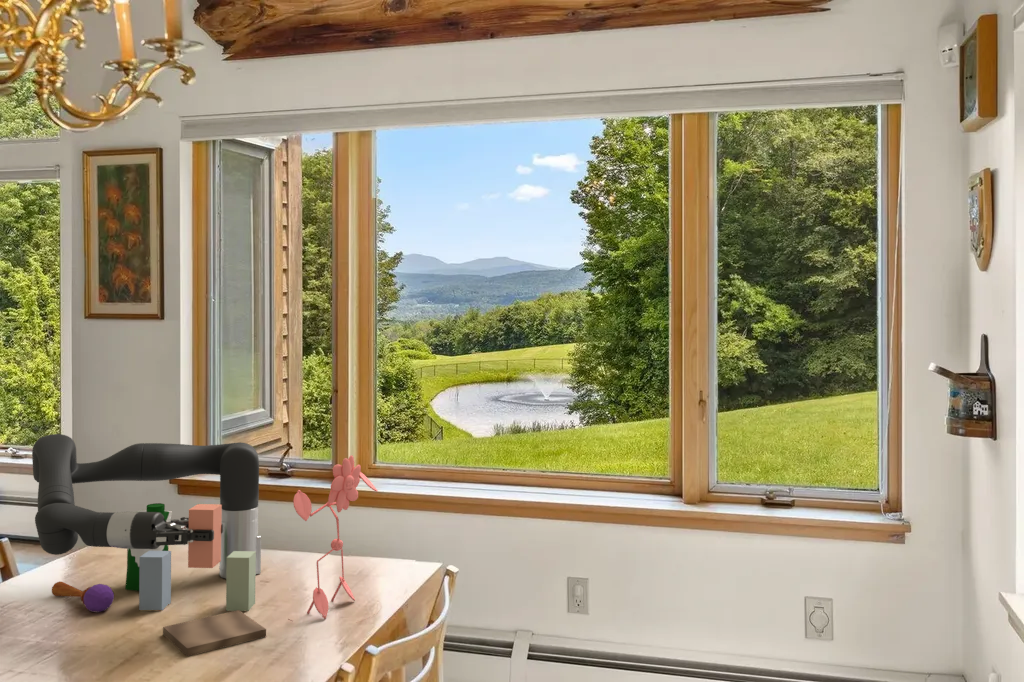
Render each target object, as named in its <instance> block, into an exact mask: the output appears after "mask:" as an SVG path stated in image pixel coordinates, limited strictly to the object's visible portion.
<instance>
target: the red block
mask: <svg viewBox="0 0 1024 682" xmlns="http://www.w3.org/2000/svg"><path fill="white" fill-rule="evenodd" d="M188 518H189V529H194V531H195V530H196V529H201V530H213V531H214V539H213V540H212V541H195V540H194V542H188V544H187V545H188V550H187V553H188V555H187V556H188V557H187V560H188V561H187V562H188V563H187V568H188V569H189V568H192V569H193V568H194V569H195V568H196V569H213V568H214V567H216V566H217V565H218V564H220V561H221V522H222V505H220V504H218V503H217V504H215V503H214V504H211V503H210V504H209V503H207V504H206V503H198V504H196V505H194V506H192V507H191V508H189V509H188Z"/></svg>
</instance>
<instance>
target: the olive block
mask: <svg viewBox="0 0 1024 682" xmlns="http://www.w3.org/2000/svg"><path fill="white" fill-rule="evenodd" d="M256 575H257V574H256V551H233V552H232V553H231V554H230V555H229V556H228V557H227V570H226V578H225V579H226V582H225V583H226V586H225V589H226V592H225V595H226V596H225V598H226V599H225V600H226V602H225V610H226V611H227V612H228V611H229V612H232V611H237V610H239V611H241V612H249V611H250V610H251V609H252V608H253V607H254V606H255V604H256Z"/></svg>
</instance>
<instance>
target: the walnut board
mask: <svg viewBox="0 0 1024 682" xmlns="http://www.w3.org/2000/svg"><path fill="white" fill-rule="evenodd" d="M162 635H163V636H164V637H165V638H166V639H167V640H168V641H169V642H171V644H173V645H174V646H175V647H176V649H177V648H178V650H179V651H181V653H183V654H184V655H185V656H186V657H190V656H195V655H198V654H202V653H207V652H210V651H214V650H219V649H223V648H227V647H230V646H234V645H238V644H243V643H246V642H250V641H254V640H258V638H259V639H262V638H261V637H263V638H266V637H267V628H265V627H264V626H262V625H261V624H260V623H258V622H257V621H255V620H254V619H252V618H251V617H249V616H248V615H246V614H245V613H243V611H239V610H237V611H229V612H228V611H227V612H225V613H220V614H215V615H210V616H207V617H201V618H196V619H192V620H188V621H183V622H179V623H175V624H170V625H165V626H163V627H162ZM265 636H266V637H265Z"/></svg>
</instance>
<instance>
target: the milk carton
mask: <svg viewBox="0 0 1024 682" xmlns="http://www.w3.org/2000/svg"><path fill="white" fill-rule="evenodd" d="M165 507H166V506H165V503H160V502H159V503H148V504H147V505H146V508H144V509H140V510H137V511H135V512H160V513H161V514H162V515H163V516H164V519H165V521H166V522H171V520H172V515H173V511H172V510H166V509H165ZM126 551H127V552H126V576H125V577H126V578H125V585H124V586H125V588H124V589H125V590H127V591H128V590H129V591H136V592H139V571H140V556H142V555H143V554H145V553H146V552H148V551H169V545H160V546H159V547H158V548H157V549H127V550H126Z"/></svg>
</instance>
